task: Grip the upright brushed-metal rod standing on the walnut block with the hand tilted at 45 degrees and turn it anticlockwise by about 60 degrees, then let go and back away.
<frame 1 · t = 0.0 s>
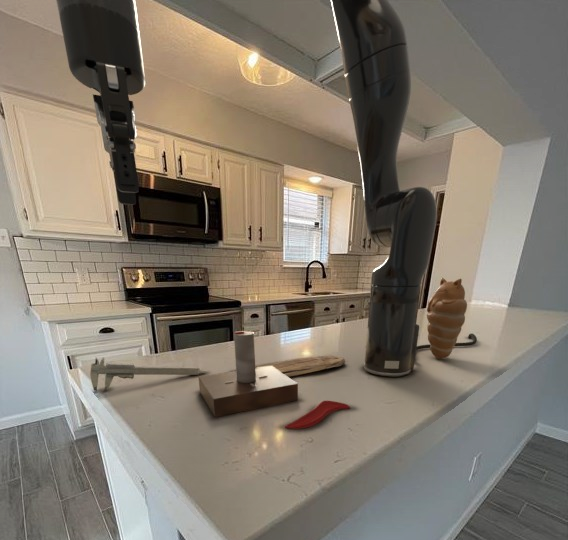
hand: (128, 198, 40), 29 cm above the countertop, tool pointing down, fingers open, 8 cm apart
rod: (245, 356, 53), point 7 cm above the countertop, hinge at 0.0°
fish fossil: (289, 369, 69), on the countertop
rod block: (247, 396, 56), on the countertop
caliper: (153, 382, 63), on the countertop
cayenne pepper: (318, 417, 48), on the countertop
cat bread figurine: (439, 359, 76), on the countertop
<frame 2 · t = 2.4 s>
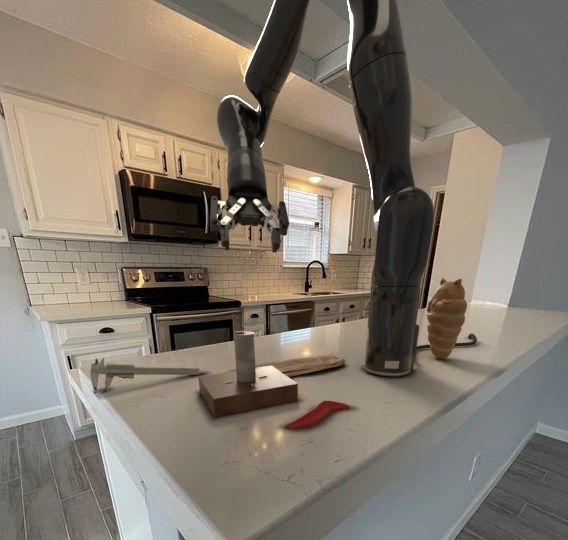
hand: (251, 248, 57), 24 cm above the countertop, tool tilted 40°, fingers open, 8 cm apart
nothing on the countertop moved.
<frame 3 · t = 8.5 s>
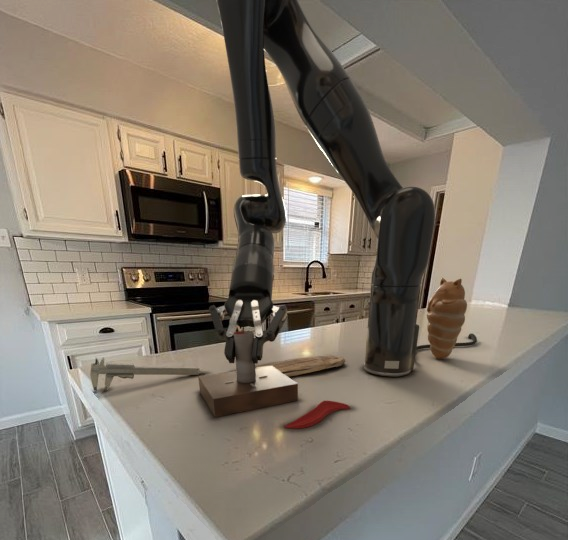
hand: (242, 360, 51), 7 cm above the countertop, tool tilted 45°, fingers closed on rod, 3 cm apart
rod: (245, 356, 53), point 7 cm above the countertop, hinge at -0.6°, touching gripper
everything else where it was.
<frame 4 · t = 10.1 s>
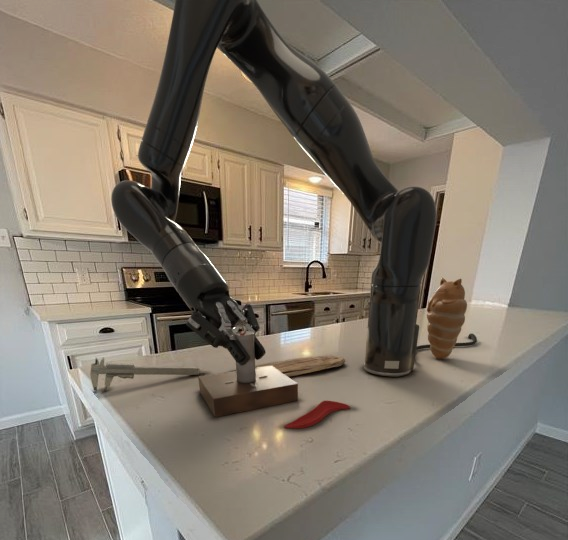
hand: (254, 358, 52), 7 cm above the countertop, tool tilted 45°, fingers closed on rod, 3 cm apart
rod: (245, 356, 53), point 7 cm above the countertop, hinge at 60.5°, touching gripper
everything else where it was.
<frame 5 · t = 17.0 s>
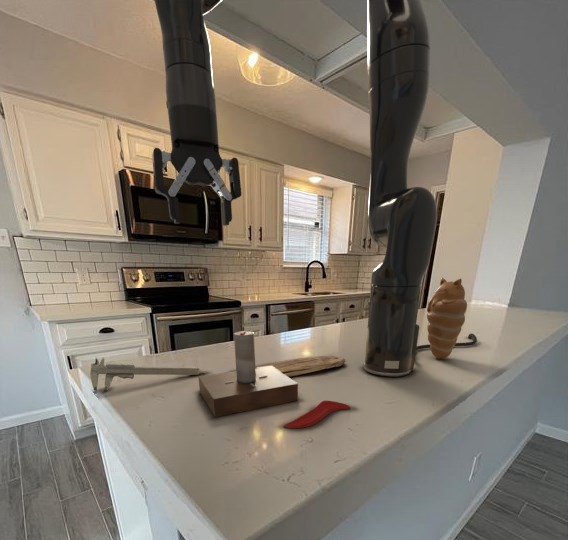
hand: (202, 224, 57), 28 cm above the countertop, tool pointing down, fingers open, 8 cm apart
rod: (245, 356, 53), point 7 cm above the countertop, hinge at 60.6°
everything else where it was.
at the end: rod at +61° (first picture: +0°); the gripper is holding nothing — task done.
